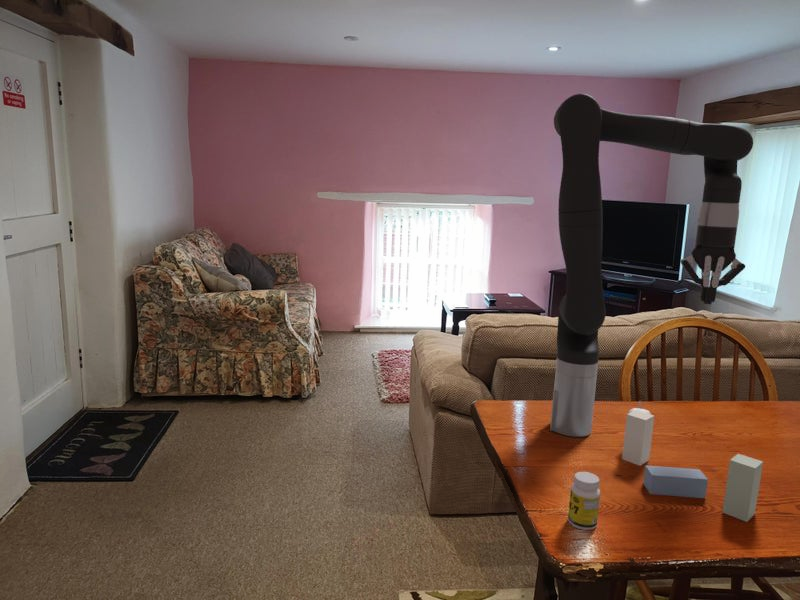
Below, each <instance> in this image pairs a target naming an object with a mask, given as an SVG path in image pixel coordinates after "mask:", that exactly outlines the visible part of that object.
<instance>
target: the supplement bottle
mask: <svg viewBox="0 0 800 600" xmlns="http://www.w3.org/2000/svg"><path fill="white" fill-rule="evenodd" d="M599 487H600V478H599V476H597V475H596V474H594V473H592V472H589V471H588V472H587V471H578V472H576V473H575V474H574V476H573V483H572V485H571V487H570V493H569V495H570V496H569V504H568V515H567V521H568V522H569V524H570V525H571V526H572V527H574V528H575V529H579V530H584V531H588V530H589V531H590V530H593V529H595V528H597V525H598V520H599V519H598V518H599V510H600V509H599V508H600V499H601V490H600V488H599Z"/></svg>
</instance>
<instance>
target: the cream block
mask: <svg viewBox="0 0 800 600" xmlns="http://www.w3.org/2000/svg"><path fill="white" fill-rule="evenodd" d="M654 422H655V415H654V414H647V413H644V412H641V411H638V410H635V411H633V412H631V413H629V412H628V413H627V414H626V419H625V427H624V428H625V429H624V437H623V448H622V454H621V460H623V461H626V462H629V463H631V464H634V465H637V466H639V467H641V466H642V465H644V464H646V463H647V462H649V461H650V456H651V448H652V440H653V431H654Z"/></svg>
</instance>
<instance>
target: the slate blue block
mask: <svg viewBox="0 0 800 600" xmlns="http://www.w3.org/2000/svg"><path fill="white" fill-rule="evenodd" d="M705 475H706V474H704V473H703V472H702V470H701V469H698V468H687V467H686V468H685V467H671V466H657V465H645V466H644V473H643V483H642V484H643V485H644V487H645V489H646V490H647V492H648V494H649V495H661V496H672V497H673V496H674V497H684V498H695V499H696V498H697V499H706V497H707V496H706V495H707V488H708V482H709V479H708V477H707V476H705Z"/></svg>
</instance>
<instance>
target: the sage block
mask: <svg viewBox="0 0 800 600" xmlns="http://www.w3.org/2000/svg"><path fill="white" fill-rule="evenodd" d="M763 464H764V461H763V460H759V459H755V458H753V457H751V456H750V457H749V456H747V455H744V454H740V453H737V454H736V455H734V456H733V457H732V458H731V459H730V460H729V465H728V472H727V477H726V478H727V479H726V485H725V493H724V498H723V499H724V500H723V505H722V511H721V512H722V513H723V514H725V515H728V516H730V517H732V518H735V519H738V520H741V521H743V522H745V523H747V522H749V520H751V519H752V517H754V515H755V514H756V509H757V504H758V503H757V502H758V495H759V490H760V483H761V478H762V470H763Z"/></svg>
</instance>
